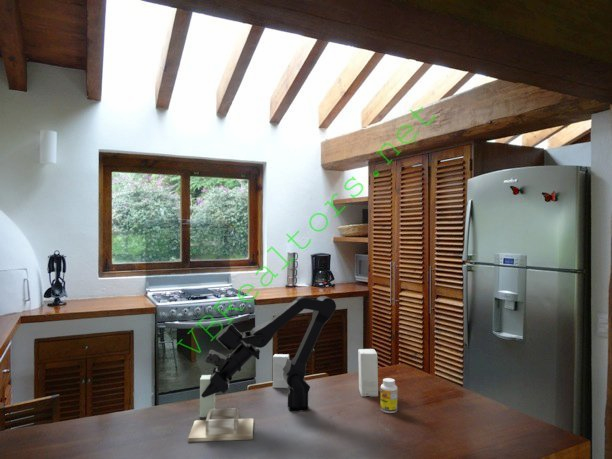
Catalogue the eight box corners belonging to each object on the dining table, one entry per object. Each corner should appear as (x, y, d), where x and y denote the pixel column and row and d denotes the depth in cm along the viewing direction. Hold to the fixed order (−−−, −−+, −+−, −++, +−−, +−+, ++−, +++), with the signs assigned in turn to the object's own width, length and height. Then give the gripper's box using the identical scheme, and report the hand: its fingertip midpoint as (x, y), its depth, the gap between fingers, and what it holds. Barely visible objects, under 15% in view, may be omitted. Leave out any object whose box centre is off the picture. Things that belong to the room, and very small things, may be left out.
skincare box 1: (289, 384, 169) (289, 354, 169) (287, 388, 165) (288, 357, 165) (274, 384, 170) (274, 353, 170) (272, 387, 165) (272, 356, 166)
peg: (215, 411, 142) (215, 374, 143) (213, 416, 138) (214, 379, 138) (201, 411, 142) (202, 375, 142) (199, 417, 137) (200, 379, 138)
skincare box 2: (378, 397, 156) (378, 354, 157) (360, 396, 156) (360, 353, 157) (374, 389, 165) (375, 348, 165) (357, 389, 165) (357, 348, 165)
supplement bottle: (377, 408, 145) (377, 378, 146) (391, 406, 148) (391, 376, 148) (386, 414, 140) (386, 383, 141) (400, 412, 142) (400, 381, 143)
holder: (253, 421, 134) (253, 405, 134) (252, 439, 122) (252, 421, 123) (194, 423, 133) (194, 407, 133) (188, 441, 121) (188, 423, 121)
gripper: (223, 335, 150) (190, 368, 149) (217, 349, 132) (180, 386, 130) (245, 357, 151) (213, 390, 149) (243, 374, 132) (206, 411, 131)
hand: (203, 393), depth 140 cm, fingers closed on peg, 4 cm apart
